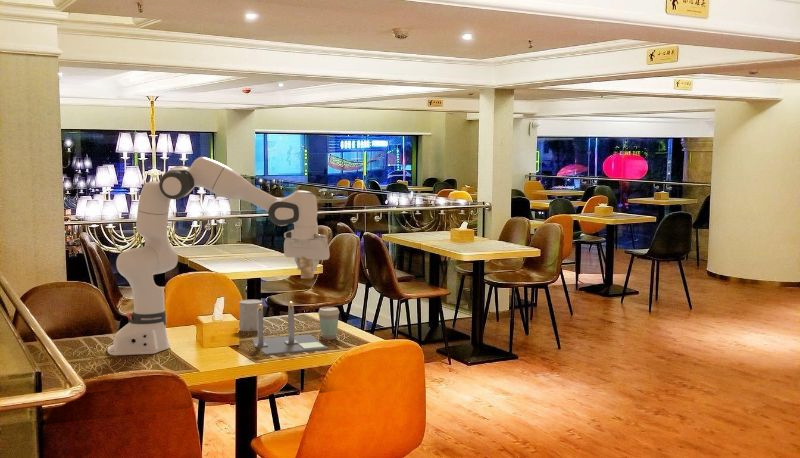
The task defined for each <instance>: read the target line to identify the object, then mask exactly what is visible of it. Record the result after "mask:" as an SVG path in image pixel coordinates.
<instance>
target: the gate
mask: <svg viewBox="0 0 800 458" xmlns="http://www.w3.org/2000/svg"><path fill="white" fill-rule="evenodd" d="M287 305H288V310H287V311H288V312H287V313H288V314H287V315H288V316H287V317H288V318H287V323H288V326H287V327H288V328H287V329H288V330H287V332H288V335H287V336H288V337H289V341H284V343H286V344H287V345H294V344H298V342H297V341H296V340H294V336H295V307H294V306H295V303H294V302H293V301H289V302H288V304H287ZM257 308H258V309H259V310H257V323H258V330H257V339H258V343H256V344H255V343H253V346H254V348H257V349H260V348H261V347H268V345H267V344H266V343H264V341H263V338H264V305H263V303H262V304H259V305H258V306H257Z"/></svg>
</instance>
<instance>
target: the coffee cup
mask: <svg viewBox="0 0 800 458" xmlns="http://www.w3.org/2000/svg"><path fill="white" fill-rule="evenodd" d="M317 314H318V317H319V318H318V320H319V327H320V334H321V338H323V339H324V340H326V341H327V340H328V341H332V340H336V339H337V335H338V326H339V325H338V324H339V318H340V317H339V316H340V315H339V314H340V310H339V308H338V307H335V306H324V307H319V309H318V312H317Z"/></svg>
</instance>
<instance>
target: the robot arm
mask: <svg viewBox="0 0 800 458" xmlns="http://www.w3.org/2000/svg"><path fill="white" fill-rule="evenodd" d="M197 187H199V188H203V189H206V190H208V191H209V192H211V193H213V194H215V195H217V196H219V197H222V198H225V199H228V200H239V201H245V202H249V203H250V204H252V205H254V206H256V207H259V208H260V209H261V210H264V211H266V212H267V214H268V218H269V220H270V221H271V222H272V224H274V225H276V226H280V227H283V226H288V225H291V224H293V228H294V229H291V230H288V231H286V232H284V233H283V237H284V241H283V254H284V256H285V257H286V258H294V262H295V264H296V266H297V270H298V271H301V262H300V257H305V258H306V259H313V262H314V264H313V266H311V271H314V272H317V271H318V266H319V263H320V261H326V260H329V259H330V255H331V254H330V247H329V246H330V245H329V239H328V237H327V236H326V235H324V234H319V225H318V218H317V217H318V214H319V213H318V201H317V197H316V195H315V194H314V193H313V192H311V191H308V190H304V189H303V190H301V189H300V190H299V189H298V190H295V191H294V192H292V193H291V194H289V195H288V196H285V197H280V196H279V197H278V196H274V195H272V194H270V193H268V192H266V191H264V190H262V189H261V188H259V187H257V186H255V185H253V184H252V183H250V181H248V180H247V179H245V178H244V177H243V176H242V175H241V174H239V172H237V171H236V170H234V169H233V168H231V167H229V166H228V165H225V164H223V163H222V162H219V161H216V160H215V159H212V158H208V157H206V156H199V157H197V158H195V160H194V161H193V162H192V163H191V165H189V166H188V165H185V164H181V165H178V166H175V167H172V168H170V169H169V170H168V171H166V172H164V174H162V176H161V177H160V179H159V181H158V180H153V181H148V182H146V183H145V184H143V186H142V188H141V192H140V195H139V199H138V203H137V204H138V206H137V213H136V222H135V228H136V232H137V233H138V234H139V235H140V236H142V237H143V239H144V246H142V247H133V248H130V249H127V250H125V251H122V252H120V253H119V254H118V256H117V258H116V261H115V264H116V269H117V272H118V273H119V274H120V275H121V276H123V278H125V280H126V281H127V282H128V283H129V286H130V288H131V291H132V295H133V296H132V298H133V299H132V300H133V311H132V312H131V311H128V312H126V317H127V318H128V323H127V324H125V325H124V326H123V327H122V328H120V329H119V330H118V331H116V332H115V335H114V338H113V344H111V345H109V346H108V347H107V353H108V355H110V356H128V355H129V356H132V355H134V356H136V355H149V354H150V355H154V354H157V353H160V352H162V351H165V350H167V349H170V347H171V345H170V343H169V338H168V334H167V328H166V325H167V313H166V310H165V292H164V290H163V288H162V287H160V286H159V285H157V284H156V282H155V280H154V275H159V274H163V273H164V274H165V273H167V272H169V271H172V270H174V269H175V268H176V267H177V265H178V262H179V255H178V252H177V250H176V249H175V248H174V247H173V246H172V244H171V243H170V240H169V236H168V223H169V212H170V203H171V200H180V199H182V198H184V197H187V196H189V194H191V192H192V191H193V190H195V189H196V188H197Z"/></svg>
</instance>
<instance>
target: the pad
mask: <svg viewBox="0 0 800 458" xmlns="http://www.w3.org/2000/svg"><path fill="white" fill-rule="evenodd" d="M320 342H321V341H320ZM320 342H310V343H299V345H300V346H301V347H302V348H303V349H314V348H325V346H326V345H325V346H323V345H322V344H323V343H322V342H321V343H322V344H321V343H320Z"/></svg>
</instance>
